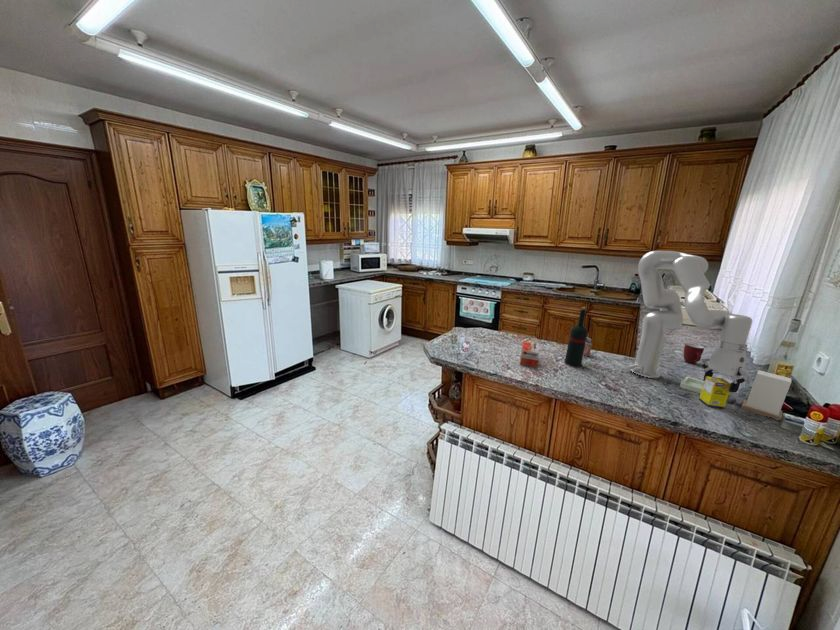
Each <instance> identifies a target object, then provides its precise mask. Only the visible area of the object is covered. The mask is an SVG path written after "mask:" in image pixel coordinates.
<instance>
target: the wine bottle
mask: <svg viewBox="0 0 840 630" xmlns="http://www.w3.org/2000/svg"><path fill="white" fill-rule="evenodd" d="M585 315H586V306H581V309H580V311H579V317H578V322H577V325H574V326H572V328H571V329H570V333H569V338H568V343H567V348H566V353H565V358H564V359H565V360H564V363H565V364H566V365H568V366H571V367H576V368H579V367H581V366H582V362H583V358H584V356H583V353H584V347H585V342H586V337H587V336H588V329H587V328H586V327H585V326H584V320H585Z"/></svg>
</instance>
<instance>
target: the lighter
mask: <svg viewBox="0 0 840 630" xmlns="http://www.w3.org/2000/svg"><path fill="white" fill-rule="evenodd" d="M592 341H593V340H592V339H591V338H590V337H586V342H585V347H584V353H583V355H585V356H590V357H591V350H592V347H593V342H592ZM585 356H584V357H585Z"/></svg>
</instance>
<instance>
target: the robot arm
mask: <svg viewBox="0 0 840 630" xmlns="http://www.w3.org/2000/svg"><path fill="white" fill-rule="evenodd" d="M637 267H638V268H637V269H638V275H639V278H640V283H641V291H642V298H643V299H642V300H643V304H644V305H645V306H646V307H647V308H649V309H659V310H656V311H655V310H654V311H650V312H648V313H647V314H645V316H643V318H642V330H641V331H642V332H641V337H640V341H639V344H638V350H637V353H636V357H635V361H634V362H633V363H632V364H627V365H626V366H625V368H626V369H627V370H629V371H630V370H631V371H632V373H633V372H634V373H636V374H635V375H637V374H638V375H637V376H639V375H641V376H640V377H642V376H644V377H643V378H646V377H648V378H647V379H659V378H661V377H660V376H661V373H659V372H658V369H659V366H660V362H661V358H662V354H663V351H664V347H665V344H666V335H665V332H667V331H668V332H669V331H670V332H671V331H677V330H679V329H680V328H681V327H682V325H683V322H684V317H683V311H682V304H681V299H680V295H679V294H678V293H677V292H676V290H673V289H670V288H665V286H664V280H663V277H662V275H661V273H660V272H659V270H672V271H673V273H674V274H675V276H676V278H677V280H678V282H679V284H680V286H681V287H682V289H683V291H684V294H685V295H684V310H685V312H686V313H687V316H688V317H689V319H690V320H691V322H692V323H693V325H695V326H696V327H697V328H699V329H701V330H712V329H713V330H715V329H720V330H721V332H720V336H719V339H718V343H717V345H715V347H714V348H713V350H712V352H711V355H710V356H709V357H708V358H701V359H700V361H701V363H702V368H703V372H704V376H703V380H702V381H704V382H705V378H706V376H709V377H714V376H713V375H714V372H717V373H720V374H722V375H725V376H727V377H730V379H731V380H732V382H730V383H731V385H730V388H729V392H735V393H737V392H738V391H739V388H740V385H741V384H743V383H746V382H747V381H748V380H749V379H750V378H752V375H750V374H749V373H748V372H747V371H746V370H745V369H746V368H745V367H746V364H747V354H746V352H747V351H748V350H749V348H748V347H746V344H747V340H748V338H749V334H750V330H751V327H752V324H753V319H752V317H750V316H747V315H744V314H738V313H737V314H735V313H732V312H729V311H725V310H720V309H719V310H718V309H717V310H716V309H713V310H710V309H709V308H708V306H707V304H706V302H705V299H704V294H705V292H706V291H707V290H709V288H710V286H711V285H710V282H709V281H708V279H707V277H706V275H705V274H706V272H707V271H708V269H709V262H708V261H707V259H706V258H704V257H703V256H699V255H694V254H690V253H689V254H688V253H686V252H685V253H684V252H681V251H675V250H651V251H648V252H646V253H645V254H643V256H642V257H641V258H640V260H639V261H638V265H637ZM631 371H630V372H631ZM713 371H714V372H713ZM634 373H633V374H634Z"/></svg>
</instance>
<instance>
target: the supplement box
mask: <svg viewBox="0 0 840 630" xmlns="http://www.w3.org/2000/svg"><path fill="white" fill-rule="evenodd" d="M730 385H731V382H729V381H728V380H726V379H725V378H723V377H716V376H712V377H709V376H706V378H705V381H704V385H703V388H702V391H701V394H699V397H698V398H699V399H698V400H700V401H701V402H702V403H703V404H704V405H705V406H707V407H708V408H709V407H710V408H716V409H717V408H718V409H722V410H723V409H725V407H726V404H727V403H726V401H727V398H728V395H729V388H730Z"/></svg>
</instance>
